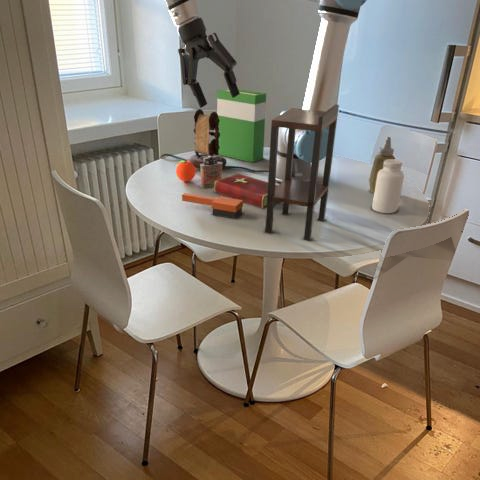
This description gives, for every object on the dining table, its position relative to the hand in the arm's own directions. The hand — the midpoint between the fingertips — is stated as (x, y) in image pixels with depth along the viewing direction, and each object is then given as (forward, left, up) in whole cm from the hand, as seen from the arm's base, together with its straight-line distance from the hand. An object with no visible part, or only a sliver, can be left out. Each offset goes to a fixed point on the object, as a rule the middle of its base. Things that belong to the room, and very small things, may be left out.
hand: (219, 101), depth 150 cm
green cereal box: (-33, +40, -29) cm, 59 cm away
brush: (+6, -9, -29) cm, 31 cm away
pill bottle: (+40, +35, -29) cm, 61 cm away
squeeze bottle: (+29, +48, -30) cm, 63 cm away
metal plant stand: (+31, +3, -29) cm, 43 cm away
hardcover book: (+4, +10, -29) cm, 31 cm away
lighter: (-12, +7, -30) cm, 32 cm away
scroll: (-30, +20, -30) cm, 46 cm away
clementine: (-22, +3, -30) cm, 37 cm away
